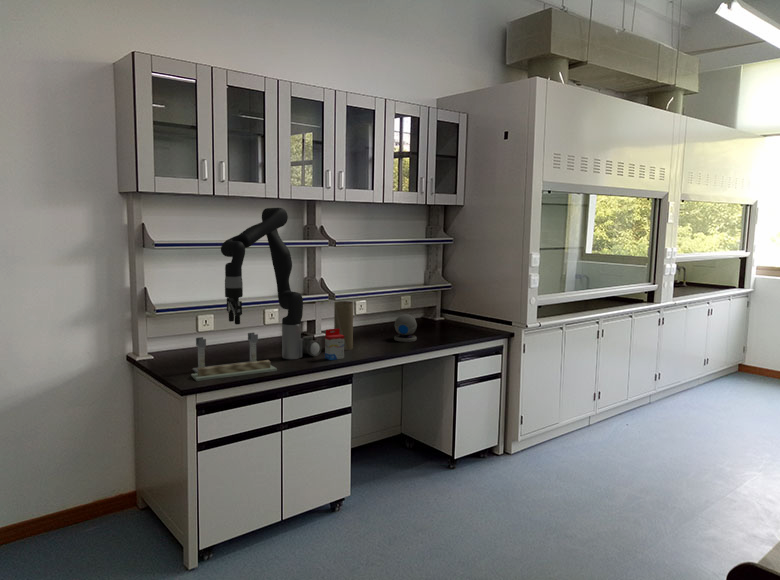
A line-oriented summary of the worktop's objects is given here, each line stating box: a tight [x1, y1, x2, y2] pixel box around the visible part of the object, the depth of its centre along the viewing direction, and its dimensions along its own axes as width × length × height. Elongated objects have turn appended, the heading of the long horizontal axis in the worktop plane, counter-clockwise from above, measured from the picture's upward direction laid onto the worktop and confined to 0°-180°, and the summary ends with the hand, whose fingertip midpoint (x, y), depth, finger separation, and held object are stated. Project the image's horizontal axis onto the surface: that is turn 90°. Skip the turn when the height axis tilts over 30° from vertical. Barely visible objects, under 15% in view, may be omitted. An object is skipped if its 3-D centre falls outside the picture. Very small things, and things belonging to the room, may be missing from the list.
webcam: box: [393, 313, 418, 343], centre depth 343 cm, size 13×13×15 cm
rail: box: [197, 359, 271, 377], centre depth 262 cm, size 32×3×3 cm, turn 122°
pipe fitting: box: [302, 334, 322, 357], centre depth 301 cm, size 12×8×10 cm
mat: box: [190, 364, 278, 382], centre depth 262 cm, size 36×9×1 cm, turn 122°
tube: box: [333, 300, 354, 351], centre depth 316 cm, size 10×10×25 cm
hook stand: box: [192, 332, 259, 374], centre depth 270 cm, size 30×8×15 cm, turn 122°
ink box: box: [324, 328, 345, 361], centre depth 293 cm, size 8×5×15 cm, turn 126°
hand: (234, 322), depth 259 cm, fingers open, 8 cm apart
